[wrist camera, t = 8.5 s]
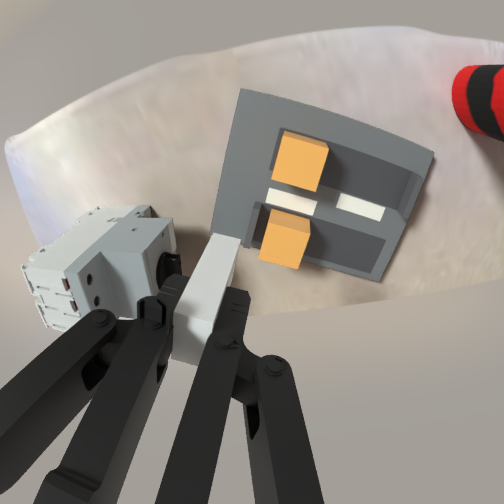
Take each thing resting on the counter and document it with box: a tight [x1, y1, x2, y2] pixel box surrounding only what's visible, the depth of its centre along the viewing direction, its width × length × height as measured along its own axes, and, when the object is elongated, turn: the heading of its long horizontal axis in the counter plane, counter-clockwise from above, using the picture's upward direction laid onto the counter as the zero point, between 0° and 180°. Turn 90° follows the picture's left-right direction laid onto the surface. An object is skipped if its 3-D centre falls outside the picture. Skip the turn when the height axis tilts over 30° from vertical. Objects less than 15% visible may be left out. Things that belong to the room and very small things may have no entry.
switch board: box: [209, 88, 434, 282], centre depth 30 cm, size 20×16×4 cm
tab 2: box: [258, 209, 310, 270], centre depth 31 cm, size 4×4×4 cm
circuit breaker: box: [20, 205, 182, 332], centre depth 31 cm, size 8×14×15 cm, turn 92°
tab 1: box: [271, 131, 329, 192], centre depth 27 cm, size 4×4×4 cm
